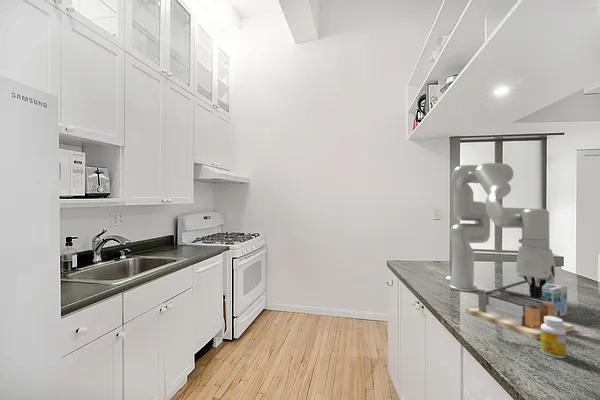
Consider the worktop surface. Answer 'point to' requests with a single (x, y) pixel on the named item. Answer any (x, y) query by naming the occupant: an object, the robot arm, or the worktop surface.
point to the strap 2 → (523, 295)
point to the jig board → (513, 324)
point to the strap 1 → (505, 287)
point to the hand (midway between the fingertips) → (535, 296)
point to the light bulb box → (556, 297)
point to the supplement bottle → (553, 337)
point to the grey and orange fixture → (516, 308)
